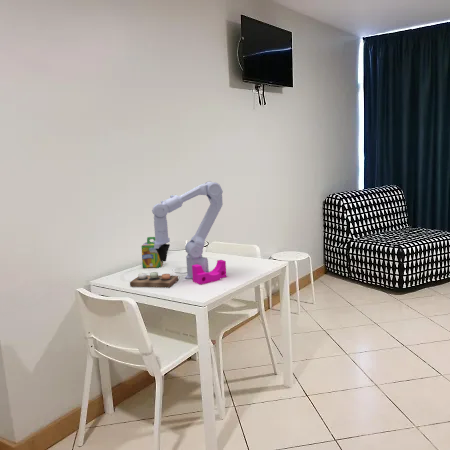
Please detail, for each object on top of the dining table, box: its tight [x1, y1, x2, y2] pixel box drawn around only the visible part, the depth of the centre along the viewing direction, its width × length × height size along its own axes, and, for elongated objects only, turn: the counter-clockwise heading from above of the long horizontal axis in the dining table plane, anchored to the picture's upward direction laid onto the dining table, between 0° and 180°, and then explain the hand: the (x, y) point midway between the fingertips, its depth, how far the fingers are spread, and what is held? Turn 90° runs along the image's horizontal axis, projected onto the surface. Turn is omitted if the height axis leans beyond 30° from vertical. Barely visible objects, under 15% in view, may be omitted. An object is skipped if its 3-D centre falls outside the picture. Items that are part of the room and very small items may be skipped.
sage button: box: [149, 271, 159, 278], centre depth 193 cm, size 4×4×2 cm
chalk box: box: [141, 236, 164, 269], centre depth 224 cm, size 9×9×15 cm
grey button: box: [137, 272, 147, 279], centre depth 194 cm, size 4×4×2 cm
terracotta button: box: [161, 273, 171, 280], centre depth 192 cm, size 4×4×2 cm
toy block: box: [192, 259, 227, 285], centre depth 194 cm, size 15×6×8 cm, turn 123°
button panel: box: [129, 274, 179, 288], centre depth 193 cm, size 18×11×2 cm, turn 77°
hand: (163, 261), depth 196 cm, fingers closed
